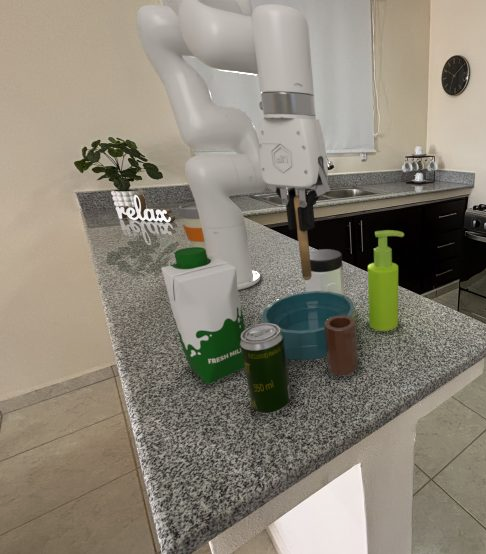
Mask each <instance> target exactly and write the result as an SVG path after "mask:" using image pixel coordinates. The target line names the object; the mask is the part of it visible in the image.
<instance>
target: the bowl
mask: <svg viewBox="0 0 486 554" xmlns="http://www.w3.org/2000/svg"><path fill="white" fill-rule="evenodd" d="M339 315H346V316H350V317H352V318H354V319H355V320H356V307H355V304H354V301H353V300H352V299H350V297H348V296H346V295H345V296H344V295H341V294H338V293H334V292H326V291H311V292H306V291H302V292H297V293H293V294H288V295H287V296H283V297H280V298H279V299H276V300H275V301H272V302H271V303H270V304H268V305H267V306H266V307H265V308H264V309H263V311H262V314H261V316H260V317H261V324H263V323H271V324H275V325H277V326H279V327H280V331H281V333H282V334H283V339H284V346H285V354H286V360H296V361H307V360H316V359H321V358H324V357H327V352H326V340H325V328H324V324H325V321H326V320H328V319H329V318H331V317H334V316H339Z"/></svg>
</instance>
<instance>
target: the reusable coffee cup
mask: <svg viewBox="0 0 486 554" xmlns="http://www.w3.org/2000/svg"><path fill="white" fill-rule="evenodd" d="M178 212H179V213H178V214H179V217H180V218H181V220H182V223H183V224H182V227H183V230H184V232H185V234H186V237H187V239H188V241H190V244H191V247H201V248H205V250H206V246H205V241H204V237H203V232H202V227H201V223H200V218H199V214H198V210H197V206H196V203H195V202H192V203H190V202H189V203H186V204H185V203H184V204H182V205H179V206H178ZM206 254H207V251H206ZM207 257H208V255H207Z"/></svg>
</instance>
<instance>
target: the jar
mask: <svg viewBox="0 0 486 554" xmlns="http://www.w3.org/2000/svg"><path fill="white" fill-rule="evenodd" d="M309 254H310V264H311V274H312V277H311V279H309V280H305V279H304V286H305V292H311V291H326V292H334V293H338V294H341V295H344V296H346V295H345V277H344V263H343V255H342V253H341V252H340V251H339V250H335V249H331V248H329V249H328V248H325V249H324V248H323V249H322V248H321V249H315V250H311V251H310V250H309Z"/></svg>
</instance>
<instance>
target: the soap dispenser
mask: <svg viewBox="0 0 486 554" xmlns="http://www.w3.org/2000/svg"><path fill="white" fill-rule="evenodd" d="M374 236H375V238H378V239H377V245H378V246H376V247H375V248H373V262H371V263H369V264H367V283H368V284H367V285H368V286H367V288H368V289H367V290H368V292H367V293H368V322H369V324H368V325H369V327H370V328H372V329H373V330H375V331H379V332H380V331H381V332H385V331H391V330H393V329H395V328H397V327H398V325H399V265H398V264H397V263H395V262H393V250H392V248H391V247H390V246H388V237H399V238H403V237H404V236H405V233H404V232H403V231H400V230H393V229H392V230H391V229H385V230H384V229H383V230H376V231H374Z"/></svg>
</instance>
